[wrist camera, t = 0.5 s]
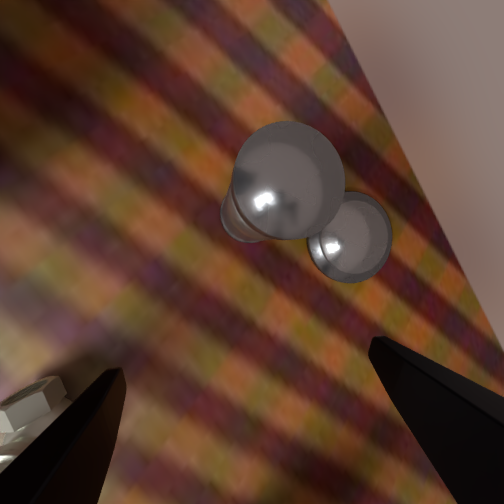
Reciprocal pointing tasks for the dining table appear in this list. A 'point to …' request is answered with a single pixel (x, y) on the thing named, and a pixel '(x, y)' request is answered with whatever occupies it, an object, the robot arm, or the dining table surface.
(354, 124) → the dining table surface
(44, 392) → the valve
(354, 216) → the silver flat disc
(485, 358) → the dining table surface
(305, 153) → the grey piece
